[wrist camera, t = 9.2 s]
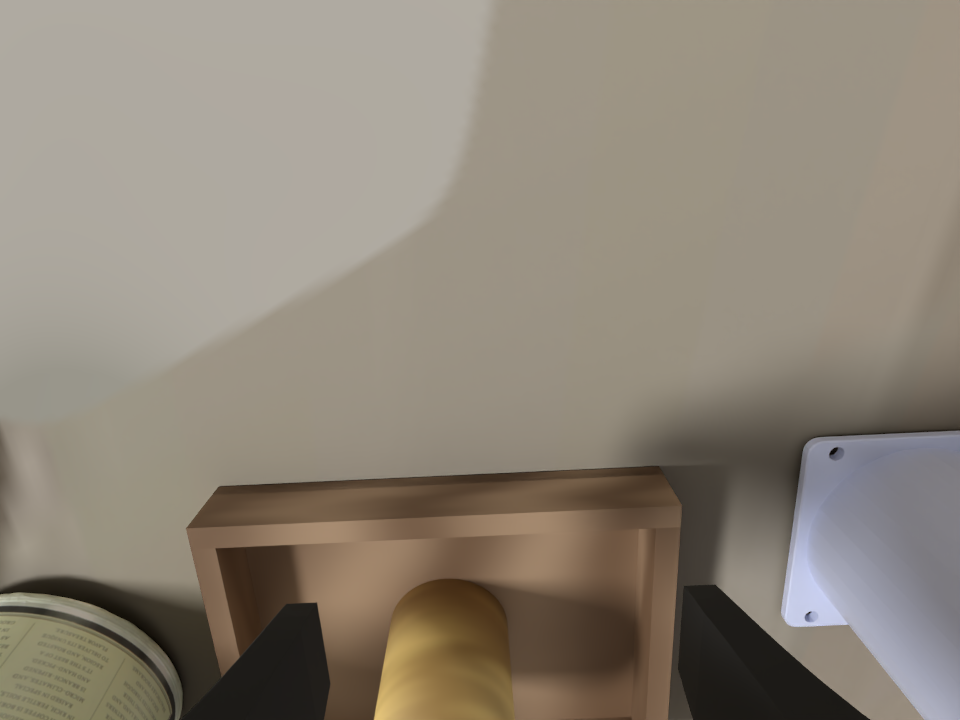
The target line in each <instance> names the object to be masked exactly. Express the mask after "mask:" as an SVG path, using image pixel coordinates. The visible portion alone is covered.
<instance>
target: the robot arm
mask: <svg viewBox="0 0 960 720" xmlns="http://www.w3.org/2000/svg"><path fill="white" fill-rule="evenodd" d="M836 447H838V450H837V452H836V453H835V454H833V455H829V453H830V451H831V450H832V449H833V448H836ZM811 611H812V612H811ZM808 612H811V613H810V614H807V613H808ZM806 614H807V615H806ZM781 615H782V617H783V618H784V620H785V621H786V623H787V624H788V625H790V626H793V627H804V626H827V625H849V626H850V627H851V628H852V629H853V631H854V632H855V633H856V634H857V636H858V637H859V638H860V639H861V641H862V642H863V643H864V644H865V646H866V647H867V648H868V649H869V651H870V652H871V653H872V654H873V656H874V657H875V658H876V659H877V661H878V662H879V663H880V664H881V666H882V667H883V668H884V670H885V671H886V672H887V673H888V675H889V676H890V677H891V678H892V680H893V681H894V682H895V683H896V685H897V686H898V687H899V688H900V690H901V691H902V692H903V693H904V695H905V696H906V697H907V698H908V700H909V701H910V702H911V703H912V705H913V706H914V707H915V708H916V710H917V711H918V712H919V713H920V715H921V716H922V717H923V718H924V720H960V431H940V432H919V433H897V434H876V435H855V436H833V437H817V438H813V439H812V440H810V441H808V442H807V444H806V445H805V446H804V449H803V454H802V461H801V469H800V476H799V483H798V491H797V498H796V505H795V513H794V520H793V528H792V535H791V542H790V550H789V557H788V564H787V572H786V579H785V587H784V594H783V601H782V609H781ZM678 670H679V673H680V677H681V680H682V684H683V687H684V691H685V694H686V698H687V701H688V704H689V707H690V711H691V714H692V717H693V720H870V719H868V718H867V717H866V716H864V715H863V714H862V713H861V712H859V711H858V710H857V709H855V708H854V707H853V706H852V705H850V704H849V703H848V702H847V701H845V700H844V699H843V698H842V697H840V696H839V695H838V694H837V693H835V692H834V691H833V690H832V689H830V688H829V687H828V686H827V685H826V684H824V683H823V682H822V681H821V680H820V679H818V678H817V677H816V676H815V675H814V674H812V673H811V672H810V671H809V670H808V669H807V668H805V667H804V666H803V665H802V664H801V663H800V662H799V661H797V660H796V659H795V658H794V657H793V656H792V655H791V654H790V653H788V652H787V651H786V650H785V649H784V648H783V647H782V646H781V645H779V644H778V643H777V642H776V641H775V640H774V639H773V638H772V637H771V636H770V635H769V634H767V633H766V632H765V631H764V630H763V629H762V628H761V627H760V626H759V625H758V624H757V623H756V622H755V621H753V620H752V619H751V618H750V617H749V616H748V615H747V614H746V613H745V612H744V611H743V610H742V609H741V608H740V607H739V606H738V605H736V604H735V603H734V602H733V601H732V600H731V599H730V598H729V597H728V596H727V595H726V594H725V593H724V592H723V591H722V590H720V589H719V588H718V587H717V586H716V585H698V586H684V593H683V607H682V621H681V635H680V649H679V663H678ZM330 684H331V683H330V677H329V671H328V665H327V659H326V653H325V647H324V641H323V635H322V629H321V623H320V617H319V611H318V605H317V602H316V603H293V604H286V605H285V606H284V607H283V608H282V609H281V610H280V611H279V612H278V613H277V615H276V616H275V617H274V618H273V619H272V620H271V621H270V623H269V624H268V625H267V626H266V627H265V628H264V630H263V631H262V632H261V633H260V634H259V635H258V637H257V638H256V639H255V640H254V641H253V642H252V644H251V645H250V646H249V647H248V648H247V649H246V650H245V652H244V653H243V654H242V655H241V656H240V657H239V658H238V660H237V661H236V662H235V663H234V664H233V665H232V666H231V667H230V668H229V670H228V671H227V672H226V673H225V674H224V675H223V676H222V677H221V678H220V679H219V681H218V682H217V683H216V684H215V685H214V686H213V687H212V688H211V689H210V691H209V692H208V693H207V694H206V695H205V696H204V697H203V698H202V699H201V700H200V701H199V702H198V703H197V704H196V705H195V706H194V707H193V708H192V709H191V710H190V711H189V712H188V713H187V714H186V715H185V716H184V717H183V718H182V719H181V720H324V717H325V712H326V706H327V700H328V695H329V689H330Z"/></svg>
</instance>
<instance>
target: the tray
mask: <svg viewBox="0 0 960 720" xmlns="http://www.w3.org/2000/svg"><path fill="white" fill-rule="evenodd" d="M681 515H682V505H681V503H680V501H679V500H678V498H677V496H676V495H675V493H674V491H673V489H672V488H671V486H670V484H669V483H668V481H667V479H666V478H665V476H664V474H663V473H662V471H661V469H660V467H659V466H655V467H634V468H612V469H591V470H569V471H548V472H526V473H504V474H483V475H461V476H440V477H418V478H397V479H375V480H354V481H332V482H311V483H289V484H268V485H246V486H225V487H218V488H217V490H216V491H215V492H214V493H213V495H212V496H211V497H210V499H209V500H208V501H207V502H206V504H205V505H204V506H203V507H202V509H201V510H200V511H199V513H198V514H197V515H196V516H195V518H194V519H193V520H192V522H191V523H190V524H189V525H188V527H187V528H186V530H187V534H188V539H189V543H190V547H191V551H192V555H193V560H194V564H195V568H196V572H197V576H198V581H199V585H200V589H201V593H202V597H203V601H204V606H205V610H206V614H207V618H208V622H209V627H210V631H211V635H212V639H213V643H214V648H215V652H216V656H217V660H218V664H219V669H220V673H221V677H222V676H223V675H224V674H225V673H226V672H227V671H228V670H229V668H230V667H231V666H232V665H233V664H234V663H235V662H236V661H237V660H238V658H239V657H240V656H241V655H242V654H243V653H244V652H245V650H246V649H247V648H248V647H249V646H250V645H251V644H252V642H253V641H254V640H255V639H256V638H257V637H258V635H259V634H260V633H261V632H262V631H263V630H264V628H265V627H266V626H267V625H268V624H269V623H270V621H271V620H272V619H273V618H274V617H275V616H276V615H277V613H278V612H279V611H280V610H281V609H282V608H283V607H284V606H285V605H286V604H293V603H316V602H317V605H318V611H319V617H320V623H321V629H322V635H323V641H324V647H325V653H326V659H327V665H328V671H329V677H330V683H331V684H330V689H329V695H328V700H327V706H326V712H325V717H324V720H374V716H375V710H376V705H377V699H378V693H379V687H380V682H381V676H382V670H383V664H384V659H385V653H386V647H387V641H388V636H389V630H390V624H391V618H392V615H393V611H394V609H395V607H396V605H397V604H398V602H399V601H400V600H401V599H402V597H403V596H404V595H405V594H407V593H408V592H409V591H410V590H412V589H413V588H415V587H417V586H419V585H421V584H423V583H426V582H429V581H433V580H438V579H460V580H465V581H469V582H472V583H475V584H477V585H479V586H481V587H483V588H485V589H486V590H488V591H489V592H490V593H491V594H492V595H494V596H495V597H496V599H497V600H498V601H499V602H500V604H501V605H502V607H503V609H504V611H505V614H506V618H507V626H508V638H509V651H510V664H511V677H512V689H513V702H514V715H515V720H668V710H669V695H670V680H671V665H672V650H673V635H674V620H675V605H676V590H677V575H678V560H679V545H680V530H681Z"/></svg>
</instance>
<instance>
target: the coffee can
mask: <svg viewBox="0 0 960 720" xmlns="http://www.w3.org/2000/svg"><path fill="white" fill-rule="evenodd" d="M182 703H183V691H182V685H181V681H180V679H179V676H178V674H177V671H176V669H175V667H174V666H173V664H172V662H171V660H170V659H169V657H168V656H167V655H166V654H165V652H164V651H163V650H162V649H161V648H160V647H159V646H158V645H157V644H156V643H155V642H154V641H153V640H152V639H151V638H150V637H149V636H148V635H147V634H145V633H144V632H143V631H142V630H140V629H138V628H137V627H136V626H135V625H134V624H132V623H130V622H129V621H127V620H125V619H123V618H120V617H118V616H116V615H114V614H112V613H110V612H108V611H107V610H105V609H102V608H100V607H97V606H95V605H92V604H89V603H85V602H82V601H78V600H74V599H70V598H65V597H60V596H54V595H47V594H34V593H23V592H17V593H11V594H0V720H179V718H180V715H181V710H182Z"/></svg>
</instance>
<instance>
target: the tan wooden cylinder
mask: <svg viewBox="0 0 960 720" xmlns="http://www.w3.org/2000/svg"><path fill="white" fill-rule="evenodd" d="M374 720H515V715H514V702H513V689H512V677H511V664H510V651H509V638H508V626H507V618H506V614H505V611H504V609H503V607H502V605H501V604H500V602H499V601H498V600H497V599H496V597H495V596H494V595H492V594H491V593H490V592H489V591H488V590H486V589H485V588H483V587H481V586H479V585H477V584H475V583H472V582H469V581H465V580H460V579H438V580H433V581H429V582H426V583H423V584H421V585H419V586H417V587H415V588H413V589H412V590H410V591H409V592H408V593H407V594H405V595H404V596H403V597H402V599H401V600H400V601H399V602H398V604H397V605H396V607H395V609H394V611H393V615H392V618H391V624H390V630H389V636H388V641H387V647H386V653H385V659H384V664H383V670H382V676H381V682H380V687H379V693H378V699H377V705H376V710H375V716H374Z"/></svg>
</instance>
